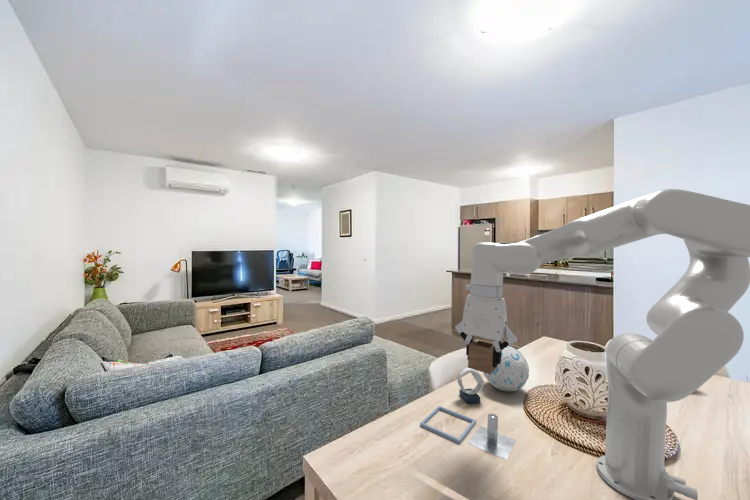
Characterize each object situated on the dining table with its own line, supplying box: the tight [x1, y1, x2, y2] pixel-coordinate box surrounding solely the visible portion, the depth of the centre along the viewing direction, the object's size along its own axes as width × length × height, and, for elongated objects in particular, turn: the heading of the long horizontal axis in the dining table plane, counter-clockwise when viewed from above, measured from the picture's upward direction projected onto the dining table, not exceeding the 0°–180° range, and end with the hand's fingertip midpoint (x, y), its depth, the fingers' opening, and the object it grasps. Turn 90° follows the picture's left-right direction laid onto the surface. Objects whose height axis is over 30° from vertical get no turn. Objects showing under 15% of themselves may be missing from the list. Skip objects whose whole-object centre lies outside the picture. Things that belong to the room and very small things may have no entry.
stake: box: [467, 413, 517, 461], centre depth 74 cm, size 9×9×8 cm
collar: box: [467, 338, 498, 374], centre depth 75 cm, size 6×6×6 cm
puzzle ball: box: [482, 345, 530, 392], centre depth 104 cm, size 15×15×15 cm
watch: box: [456, 366, 485, 405], centre depth 95 cm, size 6×8×11 cm
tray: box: [419, 405, 477, 445], centre depth 81 cm, size 11×11×2 cm
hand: (483, 361), depth 75 cm, fingers closed on collar, 5 cm apart
